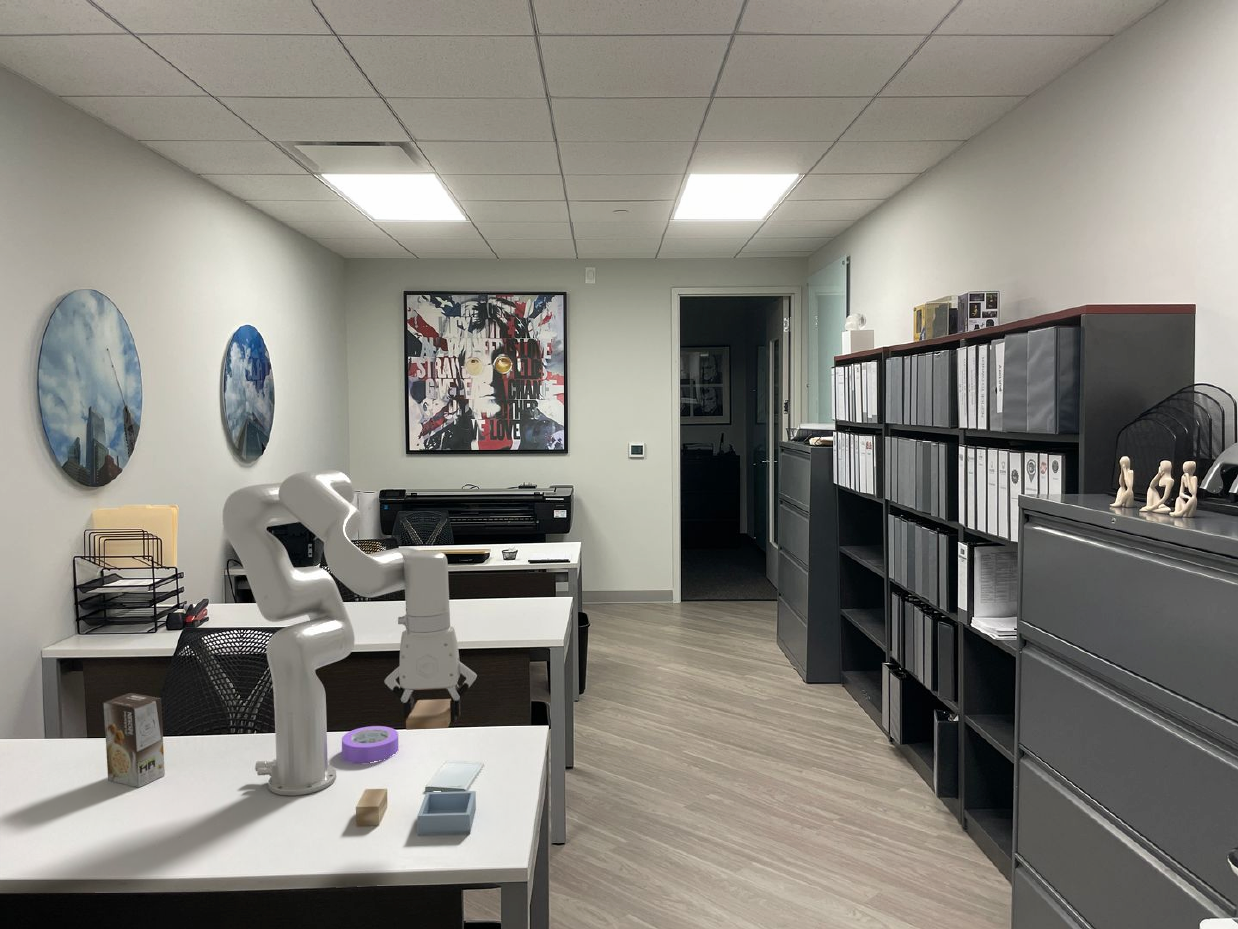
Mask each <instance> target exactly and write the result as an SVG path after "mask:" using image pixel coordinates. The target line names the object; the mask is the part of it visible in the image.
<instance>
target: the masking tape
mask: <svg viewBox="0 0 1238 929" xmlns="http://www.w3.org/2000/svg"><path fill="white" fill-rule="evenodd" d="M397 751H398V752H399V731H397V729H394V728H393V727H388V726H385V725H384V726H382V725H371V726H365V727H358V728H355V729H353V730H351V731H348V732H346V733H345V734H344V735H343V736H342V737H341V758H342V759H343V760H344V761H346V762H348V763H351V764H357V765H358V764H359V765H363V764H362V763H369V764H371V763H370V762H374V761H379V760H384V759H387V758H389V757H390V756H392V755H393V754H396V752H397ZM398 752H397V753H398ZM396 755H397V754H396ZM389 759H390V758H389ZM387 760H388V759H387ZM384 761H385V760H384Z"/></svg>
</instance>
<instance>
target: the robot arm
mask: <svg viewBox="0 0 1238 929" xmlns="http://www.w3.org/2000/svg"><path fill="white" fill-rule="evenodd" d="M354 488H355V487H354V484H353V483H352V481H351V479H350V478H349V477H348V475H346V474H345V473H343V472H342V471H339V470H335V469H324V470H313V471H311V470H310V471H304V472H302V471H301V472H298V473H294V474H292V475H290V476H288V477H286V478H285V479H284V480H283V481H282V482H275V483H271V482H270V483H263V484H262V483H261V484H260V483H259V484H255V485H254V484H253V485H250V486H245V487H242V488H239V489H237V490H235V491H233V492H232V493H231V494H229V496H228V497H227V498H226V500H225V502H224V504H223V508H222V509H223V510H222V526H223V529H224V532H225V535H226V538H227V540H228V542H229V543H230V545H231V546H232V548H233V549H234V551H235V553H236V554H237V557H238V558H239V560H240V561H241V565H242V566H243V570H244V573H245V576H246V578H247V581H248V584H249V586H250V589H251V592H252V595H253V597H254V600H255V603H256V605H257V608H258V611H259V612H260V614H261V616H262V617H263V618H264V619H265V620H266V621H268V622H271V623H279V622H284V621H290V620H292V619H296V618H300V617H304V616H308V618H309V620H306V621H302V622H301V621H300V622H298V623H295V624H291V625H288V626H286V627H283V628H282V629H279V630H278V631H276V632H275V633H274V634H272V636H271V637H270V639H269V641H268V642H267V646H266V658H267V659H266V660H267V664H268V667H269V670H270V674H271V680H272V689H273V707H274V729H275V730H274V732H275V733H274V734H275V757H276V758H274V759H272V761H267V760H260V761H256V762H255V766H254V768H255V769H254V770H255V772H256V773H257V776H268V775H269V779H268V789H269V791H271V793H273V794H277V795H280V796H303V795H309V794H311V793H315V792H316V793H317V792H319V791H322V790H323V789H326V788H327V787H329V786H330V785H332V784H333V783H334V782H335V780H336V779H337V772H336V771H337V770H336V769H335V767H333V766H331V765H329V764H328V762H329V761H328V732H327V731H328V730H327V729H328V728H327V702H326V701H327V700H326V697H327V696H326V690H325V687H324V684H323V683H322V681H321V680H320V678H319V676H318V675H317V674H316V670H317V669H319V668H322V667H324V666H327V665H331V664H333V663H336V662H339V661H341V660H343V659H346V658H347V657H348V656H349V655H350V654H351V653H352V651H353V649H354V647H355V633H354V632H355V631H354V627H353V625H352V622H351V620H350V617H349V615H348V611H347V610H346V606H345V604H344V601H343V598H342V596H341V594H340V591H339V588H338V585H337V584H336V581H335V580H334V578H333V577H332V575H333V576H334V577H335V578H337V580H338V581H340V582H341V583H342V584H343V585H344V586H345V587H347V588H348V589H349V590H350V591H351V592H353V593H355V594H356V595H359V596H361V597H365V598H375V597H379V596H383V595H386V594H390V593H393V592H398V591H401V590H404V596H405V597H404V599H405V615H402V616H398V617H397V624H398V625H402V626H404V627H405V629H404V631H402V632H401V638H400V645H399V649H400V650H399V666H397V667H396V668H395V669H394V670H393V671H392V672H391V673H390V674H388V676H386V678H385V679H384V682H383V683H384V684H385V685H387V687H388V688H389V689H390V690H391V691H392V692H393V694H394V695H395V696H396V697H398V698H399V699H400V701H401V702H402V703H403V718H404V719H405V720H407V718H408V716H409V715H410V713H411V712H412V711H413V709H414V706H415V698H414V697H413V695H412V694H413V692H414V691H416V690H419V691H420V690H421V691H422V690H440V689H446V690H447V691H448V693H449V694H450V696H451V698H450V699H451V701H450V711H451V721H450V723H452V724H456V721H457V719H458V717H461V698H462V696H463V695H464V694H465V693H467V691H468V689H469V688H470V687H471V686H472V685H473V684H474V682H475V681H476V679H477V677H478V675H477V673H476V672H474V671H473V670H472V669H470V668H469V667H468V666H466V665H465V664H464V663H462V662H461V661H460V653H459V645H458V640H457V635H456V632H455V627H453V626H451V617H450V616H451V613H450V589H449V588H450V587H449V565H448V558H447V556H446V554H445V553H443V552H442V551H433V550H432V551H431V550H428V551H427V550H425V551H422V550H419V549H415V548H413V547H406V546H405V547H404V546H403V547H395V548H392V549H386V550H382V551H376V552H371V553H368V554H367V553H365V552H364V551H362V550H361V549H360V548H359V547H358V546H357V545H355V544H354V543H353V542H352V539H354V538H355V536H356V535H357V533H358V532H359V529H360V528H361V526H362V519H363V518H362V514H361V512H360V510H359V509H358V508H356V507H355V506H354V505H353V504H352V503H353V501H354V497H355V490H354ZM294 523H300V524H302V525H303V526H304V527H305V528H307V529H308V530H309V532H312V533H313V534H314V535H315V536H316V537H317V538H318V539H320V540H321V541H322V542H323V553H324V558H325V561H326V564H327V567H328V568H329V570H330V572H331V573H332V575H331V574H330V573H329V572H328V571H326V570H325V569H324V568H322V567H319V566H314V565H313V566H306V567H299V568H295V567H294V565H293V564H292V561H291V559H290V557H289V554H288V551H287V549H286V547H285V546H284V545H283V543H282V542H281V541H280V540H279V539H278V538H277V537H276V536H275V535H274V534H272V533H271V532H269V531H268V530H267V528H268V527H274V526H281V525H287V524H294ZM461 675H462V676H463V677H465V678H466V679H465V680H464V681H463V683H461V684H460V686H459V684H458V682H459V679H460V677H461ZM398 678H399V683H398V681H397V679H398Z"/></svg>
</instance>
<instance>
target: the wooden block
mask: <svg viewBox="0 0 1238 929" xmlns="http://www.w3.org/2000/svg"><path fill="white" fill-rule="evenodd" d="M387 806H388V788H366V789H364V791H363V792H362V794H361V796H360V798H359V800H358V802H357V803H356V805H355V823H356V824H355V826H356V827H367V826H368V825H369V826H373V825H374V826H375V825H376V826H380V825H381V822H382V820H383V818H384V816H385V814H386V811H387V809H388V807H387ZM384 813H385V814H384ZM383 815H384V816H383ZM379 824H380V825H379ZM369 826H368V827H369Z"/></svg>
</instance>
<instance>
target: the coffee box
mask: <svg viewBox="0 0 1238 929" xmlns="http://www.w3.org/2000/svg"><path fill="white" fill-rule="evenodd" d="M162 713H163V711H162V698H161V697H157V696H150V695H146V694H145V695H144V694H138V693H134V692H129V693H125V694H122V695H120V696H117V697H114V698H112V699H110V700H107V701H104V702H103V715H104V717H103V718H104V732H105V734H104V735H105V750H106V752H105V753H106V767H107V780H108V781H109V782H114V783H119V784H123V785H128V786H131V787H136V788H140V787H143V786H146V785H148V784H150V783H152V782H154V781H156V780H158V779H161V778H163V777H164V776H165V775H166V774H165V770H166V769H165V752H164V751H165V750H164V749H165V748H164V734H163V732H164V730H163V717H162V716H163V714H162Z"/></svg>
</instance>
